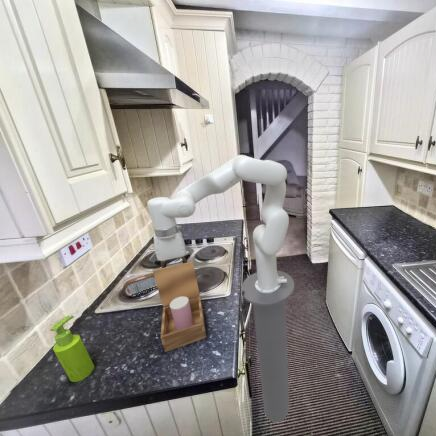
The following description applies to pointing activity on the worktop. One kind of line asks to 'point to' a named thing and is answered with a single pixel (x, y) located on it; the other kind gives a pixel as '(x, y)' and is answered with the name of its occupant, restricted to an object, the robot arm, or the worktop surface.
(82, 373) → the soap dispenser
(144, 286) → the tin
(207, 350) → the worktop surface
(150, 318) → the worktop surface
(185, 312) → the tube
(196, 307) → the chest
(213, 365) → the worktop surface
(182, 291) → the lid
